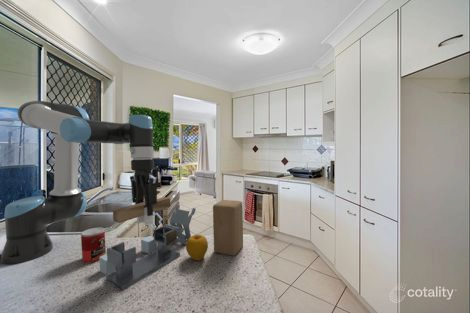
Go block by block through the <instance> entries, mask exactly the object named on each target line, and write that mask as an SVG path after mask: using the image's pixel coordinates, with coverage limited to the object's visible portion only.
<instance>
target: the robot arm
mask: <svg viewBox="0 0 470 313" xmlns="http://www.w3.org/2000/svg"><path fill="white" fill-rule="evenodd" d="M17 118H18V119H19V121H20V122H21V123H23V124H24V125H26V126H27V127H29V128H33V129H37V130H38V129H39V130H41V129H42V130H47V131H49V132H50V134H51V135H52V136H53V137H54V172H53V173H54V176H53V182H54V183H53V189H52V190H51V191H49V194H48V195H49V197H45V196H44V195H35V196H29V197H25V198H21V199H18V200H17V199H16V200H14V201H12V202H10V203H8V204H7V205H6V206H5V208H4V215H3V216H4V217H3V218H4V220H5V223H4V224H5V235H6V236H5V238H6V241H5V245H4V247H3V249H2V252H1V254H0V263H2V265H3V264H4V265H12V264H14V265H15V264H19V263H24V262H27V261H32V260H34V259H37V258H40V257H42V256H44V255H46V254H47V253H49V252H51V251H52V250H53V248H54V246H53V242H52V240H51V238H50V236H49V234H48V232H47V225H50V224H54V223H57V222H60V221H65V220H71V219H73V218H75V217H79V216H81V215H82V214H83V213H84V212H85V210H86V208H87V203H88V202H87V200H88V199H87V198H86V196H87V195H86V194H85V193H84V192H82V190H81V189H80V188H79V187H78V186H79V184H78V183H79V182H78V181H79V179H78V178H79V156H80V154H79V153H80V144H83V143H84V144H86V143H87V144H88V143H89V144H94V143H95V144H114V145H123V144H129V145H130V150H129V151H130V158H131V159H132V160H131V161H130V166H131V168H130V170H131V171H134V174H133V175H132V176H131V175H130V176H129V179H130V182H131V183H130V184H131V186H130V187H131V196H132V197H131V198H132V203H135V204H139V203H143V202H145V205H146V206H144V215H143V216H140V217H137V218H136V219H137V224H142V223H144V226H145V227H146V226H149V225H152V224H153V223H154V217H153V215H154V212H153V205H156V204H157V199H158V185H157V184H158V181H159V178H158V176H154V175H153V172H152V170H154V169H155V160H154V159H153V158H154V157H155V153H154V130H153V129H154V126H153V125H154V124H153V120H152V117H151V116H150V115H144V114H132V115H130V116H129V117H128V122H123V123H121V122H120V123H119V122H112V121H103V120H102V121H101V120H95V119H90V117H89V114H88V113H87V111H86V110H85V109H84V108H83V107H79V106H74V105H72V104H71V105H69V104H63V103H57V102H51V101H45V100H31V101H28V102H25V103H23V104H21V105H20V106H19V107H18V109H17ZM135 204H134V205H135Z"/></svg>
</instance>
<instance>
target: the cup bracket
mask: <svg viewBox="0 0 470 313" xmlns="http://www.w3.org/2000/svg"><path fill="white" fill-rule="evenodd" d="M153 237H154V242H156V243H157V250H156V251H154V252H152V253H150V254H146V255H145V256H144V257H141V258H139V259H137V247H136V246H133V247H131V248H129V249H126V250H125V242H120V243H118V244H115V245H113V246H112V245H111V246H110V247H107V248H106V254H107V261H109V262H111V263H113V264H114V265H115V269H116V271H114V272H112V273H110V274H108V275H105V281H107V282H108V283H109V284H111V285H112V286H114V287H115V288H117V289H119V290H120V291H125V290H126V289H128V288H130V287H131V286H133V285H134V284H136V283H138V282H140V281H141V280H142V279H144V278H147V277H148V276H149V275H151V274H152V273H154V272H155V271H157V270H159V269H161V268H163V267H164V266H165V265H167V264H169V263H171V262H172V261H174V260H175V259H178V258H179V257H181V253H180V252H178V251H175V250H172V244H174V243H176V242H175V240H176V239H177V238H178V237H177V229H174V228H171V227H167V226H165V225H162V226H159V227H158V228H155V229H153ZM174 239H175V240H174Z"/></svg>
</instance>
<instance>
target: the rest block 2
mask: <svg viewBox="0 0 470 313" xmlns="http://www.w3.org/2000/svg"><path fill="white" fill-rule="evenodd" d="M140 246H141V247H140V249H141V250H142V251H141V250H140V251H141V252H143V251H144V252H143V253H145V252H146V253H145V254H147V253H148V254H147V255H149V253H150V254H151V252H152V253H153V251H154V252H155V250H156V251H157V250H158V246H157V243H156V242H154V236H152V235H151V236H150V235H148V236H146V237H144V238H141V239H140Z"/></svg>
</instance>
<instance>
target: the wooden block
mask: <svg viewBox="0 0 470 313" xmlns="http://www.w3.org/2000/svg"><path fill="white" fill-rule="evenodd" d="M243 211H244V210H243V201H241V200H230V199H229V200H228V199H221V200H219V201H218V202H217V203H215V204H213V206H212V221H213V222H212V223H213V225H212V226H213V228H212V229H213V231H212V232H213V251H214V253H218V254H223V255H227V256H232V257H233V256H237V254H238V253H239V252H240V250H241V249H242V247H243V246H244V222H243V221H244V220H243V219H244V216H243V214H244V213H243Z"/></svg>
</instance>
